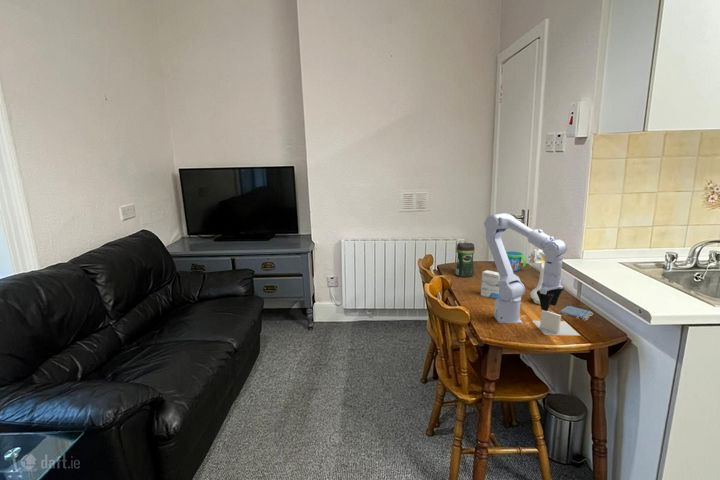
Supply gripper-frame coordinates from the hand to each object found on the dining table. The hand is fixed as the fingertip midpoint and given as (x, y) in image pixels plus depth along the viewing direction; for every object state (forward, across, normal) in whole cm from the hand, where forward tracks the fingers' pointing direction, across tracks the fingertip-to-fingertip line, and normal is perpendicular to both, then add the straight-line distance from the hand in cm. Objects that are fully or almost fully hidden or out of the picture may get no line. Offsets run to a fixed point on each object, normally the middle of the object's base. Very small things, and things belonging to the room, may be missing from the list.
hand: (548, 307), depth 150 cm
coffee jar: (+11, +43, +62) cm, 76 cm away
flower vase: (+11, +31, +15) cm, 37 cm away
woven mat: (+11, +28, -2) cm, 30 cm away
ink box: (+11, +23, +35) cm, 43 cm away
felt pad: (+10, +7, -1) cm, 12 cm away
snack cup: (+11, +72, +48) cm, 87 cm away
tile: (+10, +3, 0) cm, 10 cm away
